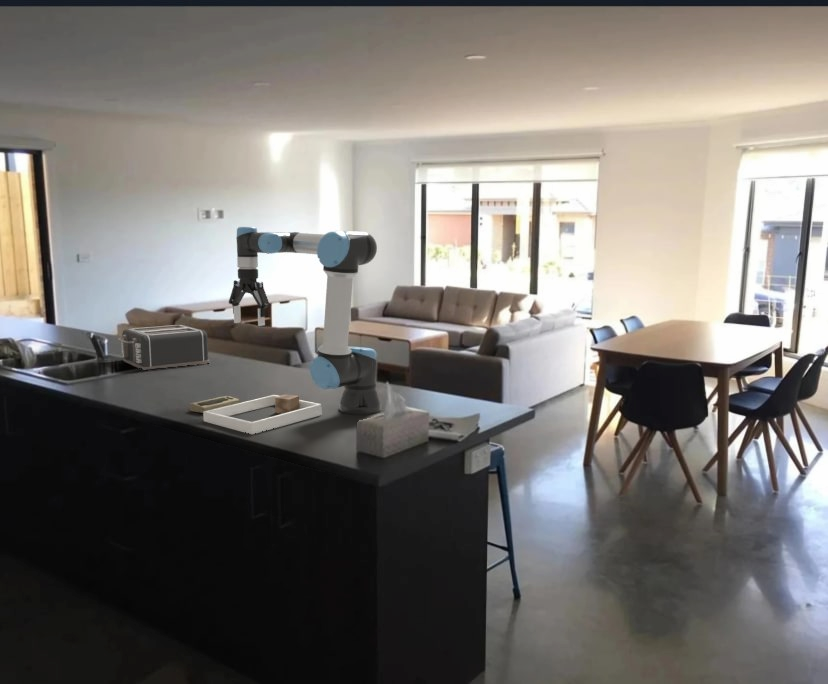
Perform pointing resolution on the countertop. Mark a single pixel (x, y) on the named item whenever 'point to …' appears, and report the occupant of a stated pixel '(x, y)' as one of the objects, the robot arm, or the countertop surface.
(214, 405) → the computer
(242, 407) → the bin
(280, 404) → the block
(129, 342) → the toaster
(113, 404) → the countertop surface
